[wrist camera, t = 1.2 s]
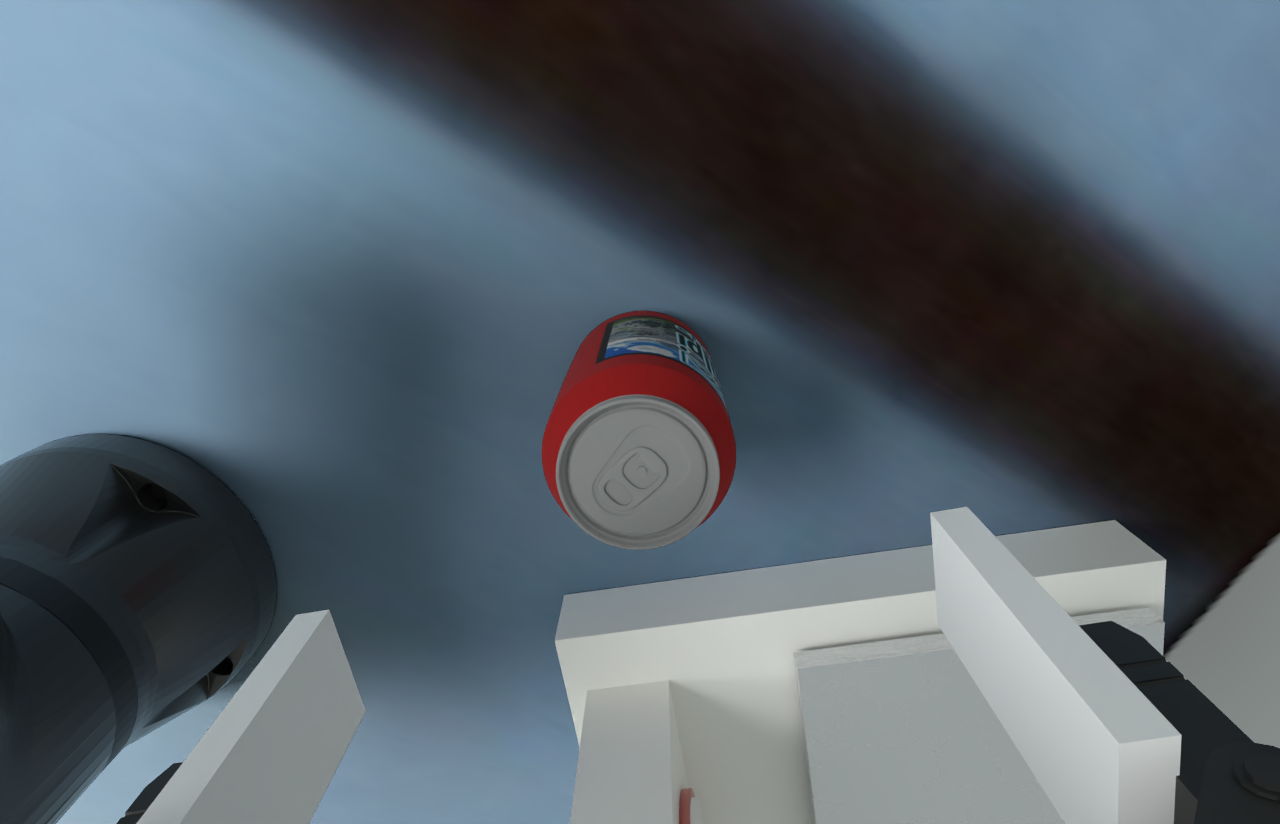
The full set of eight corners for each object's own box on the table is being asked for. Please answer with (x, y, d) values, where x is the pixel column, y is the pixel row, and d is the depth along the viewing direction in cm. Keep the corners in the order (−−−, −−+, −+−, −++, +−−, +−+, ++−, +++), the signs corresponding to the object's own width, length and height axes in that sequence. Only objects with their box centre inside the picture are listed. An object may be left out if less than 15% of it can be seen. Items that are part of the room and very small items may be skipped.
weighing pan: (827, 933, 41) (832, 956, 40) (792, 652, 35) (797, 668, 34) (1133, 902, 40) (1147, 924, 39) (1148, 606, 34) (1164, 622, 33)
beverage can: (744, 377, 36) (785, 476, 24) (643, 470, 37) (638, 605, 26) (642, 275, 34) (636, 331, 23) (542, 377, 36) (490, 476, 25)
